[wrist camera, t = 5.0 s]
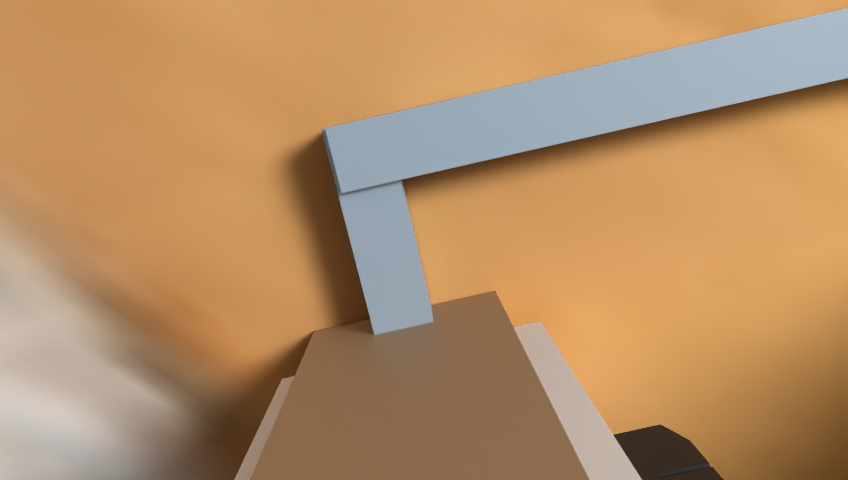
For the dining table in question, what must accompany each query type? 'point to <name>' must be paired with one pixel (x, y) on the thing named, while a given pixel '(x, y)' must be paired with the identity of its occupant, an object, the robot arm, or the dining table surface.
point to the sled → (484, 314)
